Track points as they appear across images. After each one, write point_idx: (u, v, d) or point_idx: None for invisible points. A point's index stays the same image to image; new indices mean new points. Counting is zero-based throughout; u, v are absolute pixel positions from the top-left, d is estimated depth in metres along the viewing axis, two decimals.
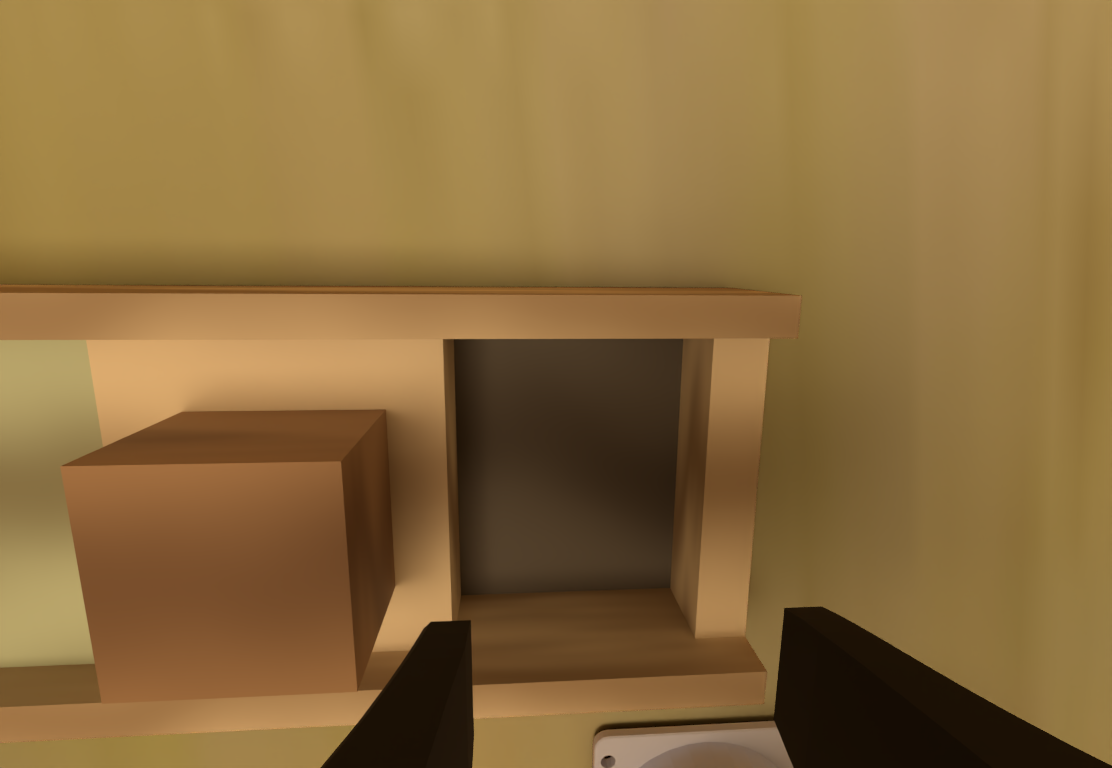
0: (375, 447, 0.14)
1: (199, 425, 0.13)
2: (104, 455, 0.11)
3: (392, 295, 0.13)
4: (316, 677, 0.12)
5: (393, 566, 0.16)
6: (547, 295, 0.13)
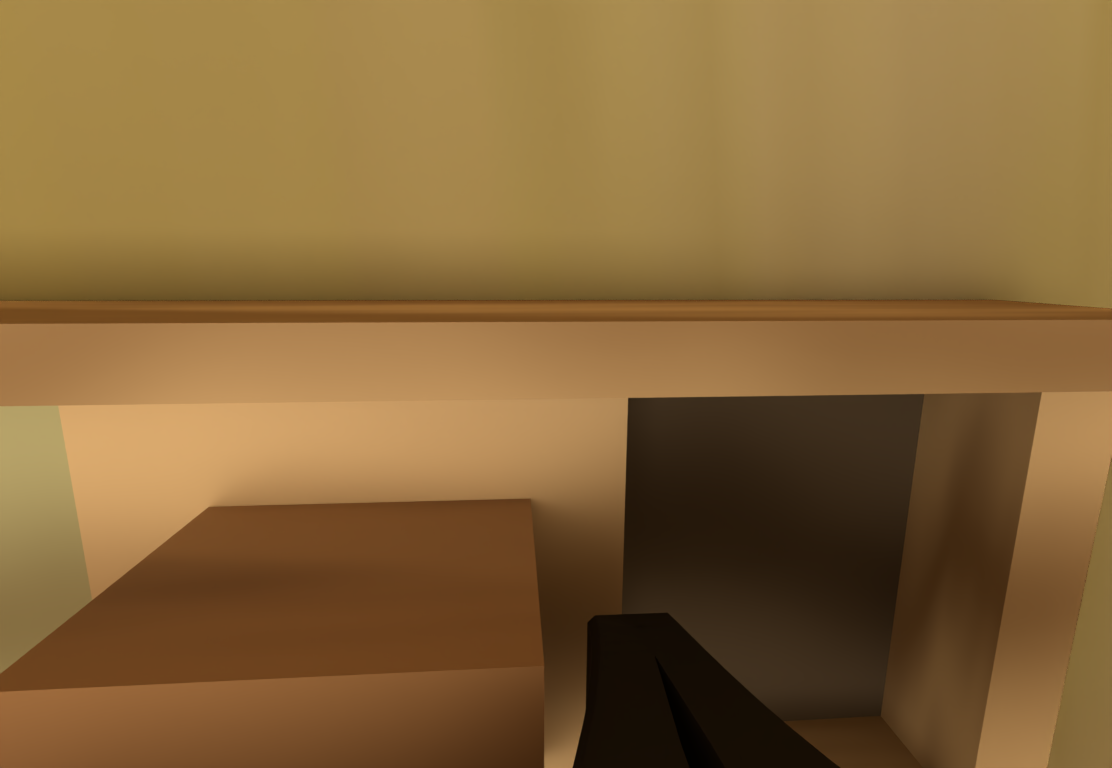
0: None
1: (242, 544, 0.08)
2: (71, 644, 0.06)
3: (585, 324, 0.07)
4: None
5: None
6: (842, 321, 0.08)
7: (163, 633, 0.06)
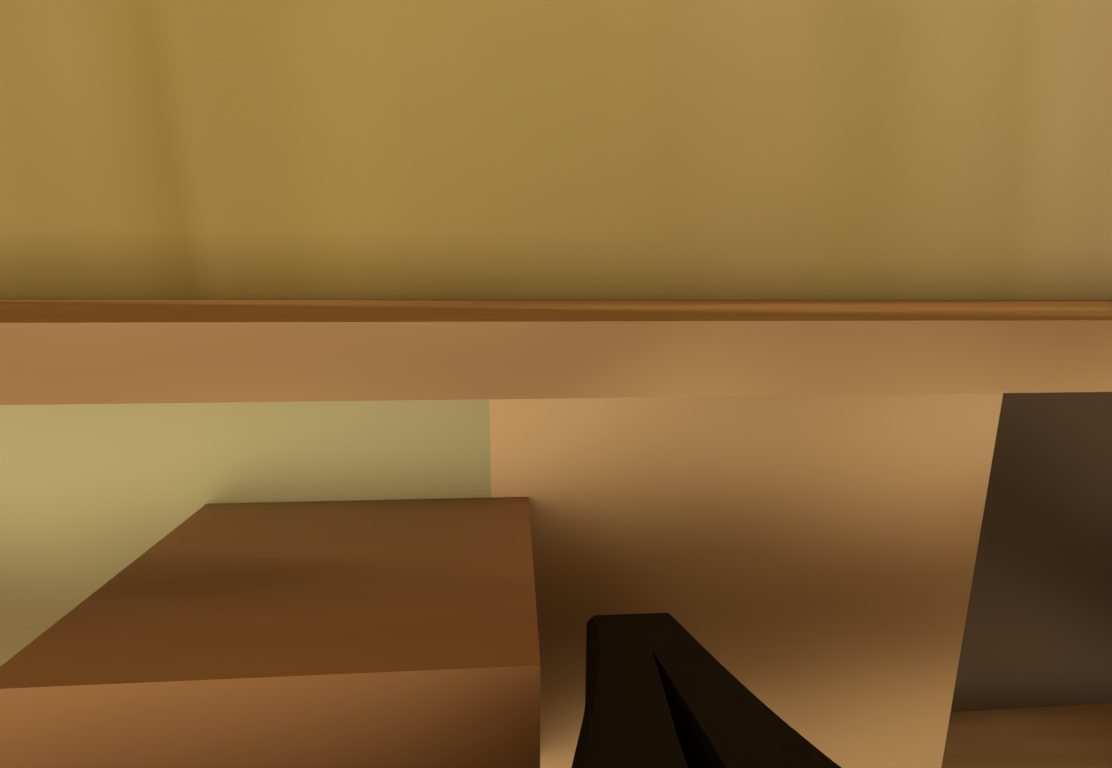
0: None
1: (239, 542, 0.08)
2: (65, 643, 0.06)
3: (1050, 322, 0.08)
4: None
5: None
6: None
7: (158, 631, 0.06)
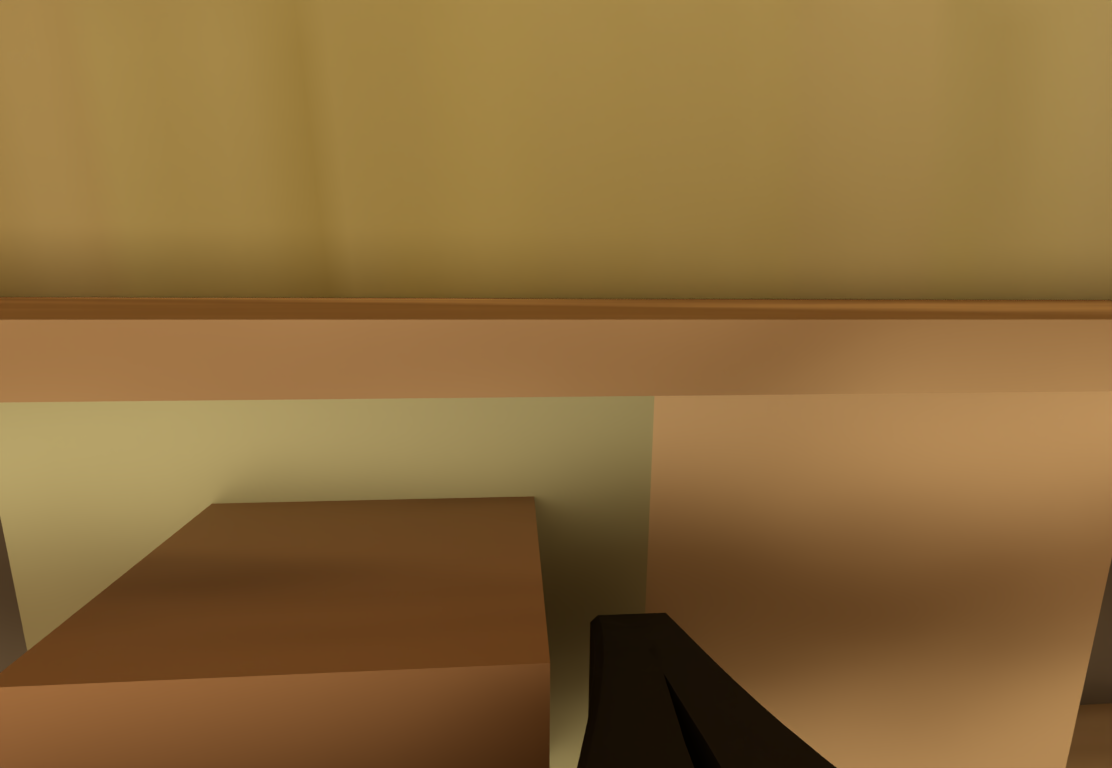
0: None
1: (246, 541, 0.08)
2: (75, 639, 0.06)
3: None
4: None
5: None
6: None
7: (167, 629, 0.06)
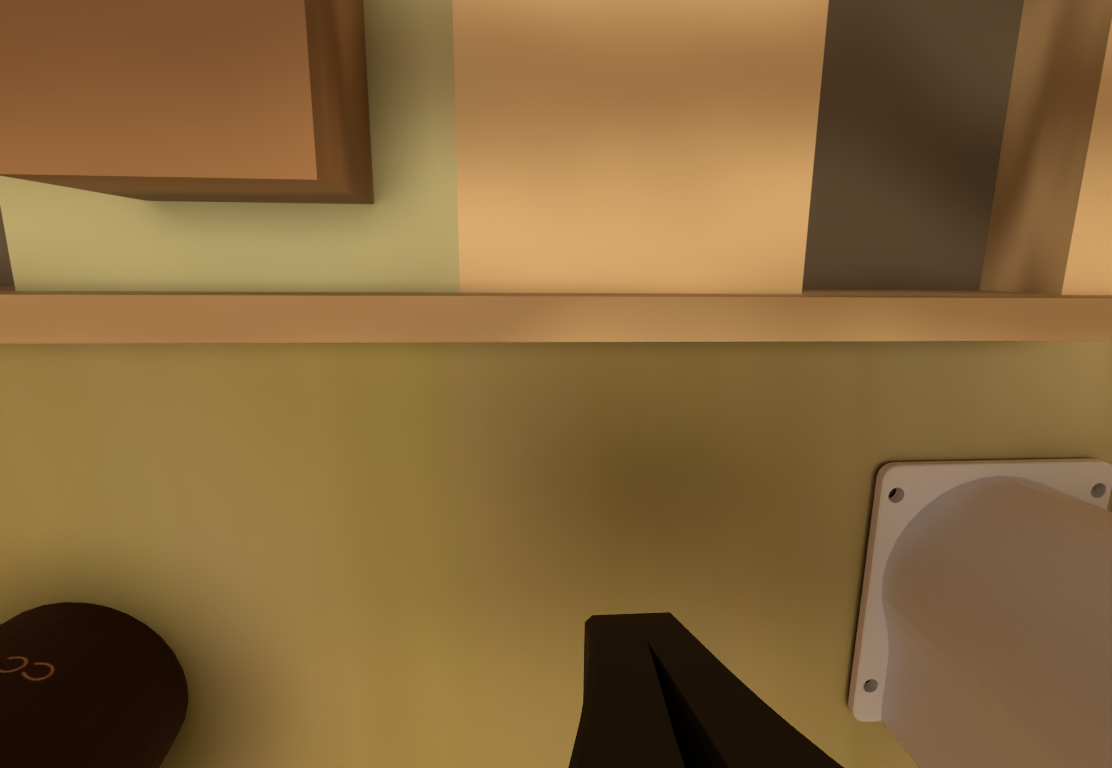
0: None
1: None
2: None
3: None
4: (264, 154, 0.09)
5: (371, 173, 0.13)
6: None
7: None
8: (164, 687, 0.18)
